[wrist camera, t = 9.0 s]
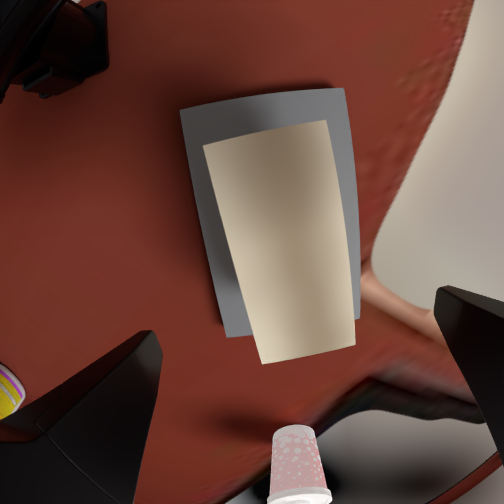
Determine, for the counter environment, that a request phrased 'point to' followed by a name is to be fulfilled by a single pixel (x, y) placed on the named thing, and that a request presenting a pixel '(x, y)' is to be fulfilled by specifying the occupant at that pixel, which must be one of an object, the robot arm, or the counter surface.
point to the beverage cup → (297, 468)
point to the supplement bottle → (9, 392)
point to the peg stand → (252, 121)
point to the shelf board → (286, 238)
